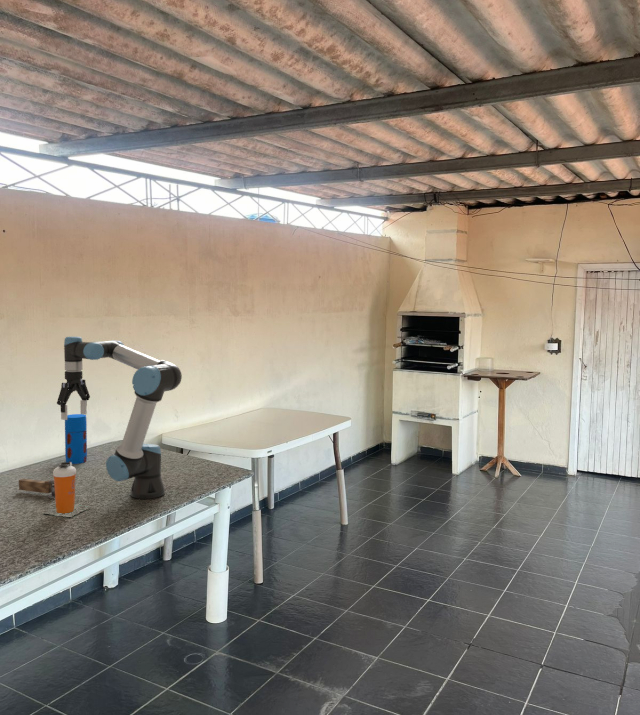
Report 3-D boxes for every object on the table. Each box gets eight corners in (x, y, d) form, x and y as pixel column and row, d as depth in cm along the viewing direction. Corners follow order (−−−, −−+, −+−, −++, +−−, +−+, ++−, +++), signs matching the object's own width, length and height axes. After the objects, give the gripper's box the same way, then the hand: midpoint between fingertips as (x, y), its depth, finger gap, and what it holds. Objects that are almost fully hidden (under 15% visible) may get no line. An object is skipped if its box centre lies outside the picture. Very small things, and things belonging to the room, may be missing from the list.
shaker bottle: (52, 515, 259) (51, 467, 257) (55, 508, 267) (54, 461, 265) (75, 513, 261) (75, 466, 259) (77, 506, 270) (76, 460, 268)
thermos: (61, 462, 340) (60, 416, 338) (74, 458, 351) (73, 413, 348) (78, 464, 337) (77, 418, 335) (91, 460, 348) (90, 414, 345)
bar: (63, 492, 286) (63, 479, 285) (55, 495, 281) (55, 482, 281) (24, 487, 292) (24, 475, 291) (17, 490, 287) (16, 477, 287)
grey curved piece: (65, 495, 286) (65, 484, 286) (56, 499, 281) (55, 488, 280) (54, 493, 288) (54, 483, 288) (44, 497, 282) (44, 486, 282)
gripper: (83, 367, 301) (84, 411, 303) (47, 373, 277) (48, 421, 280) (97, 368, 299) (97, 412, 301) (62, 374, 275) (63, 422, 277)
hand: (74, 416), depth 290 cm, fingers open, 13 cm apart
